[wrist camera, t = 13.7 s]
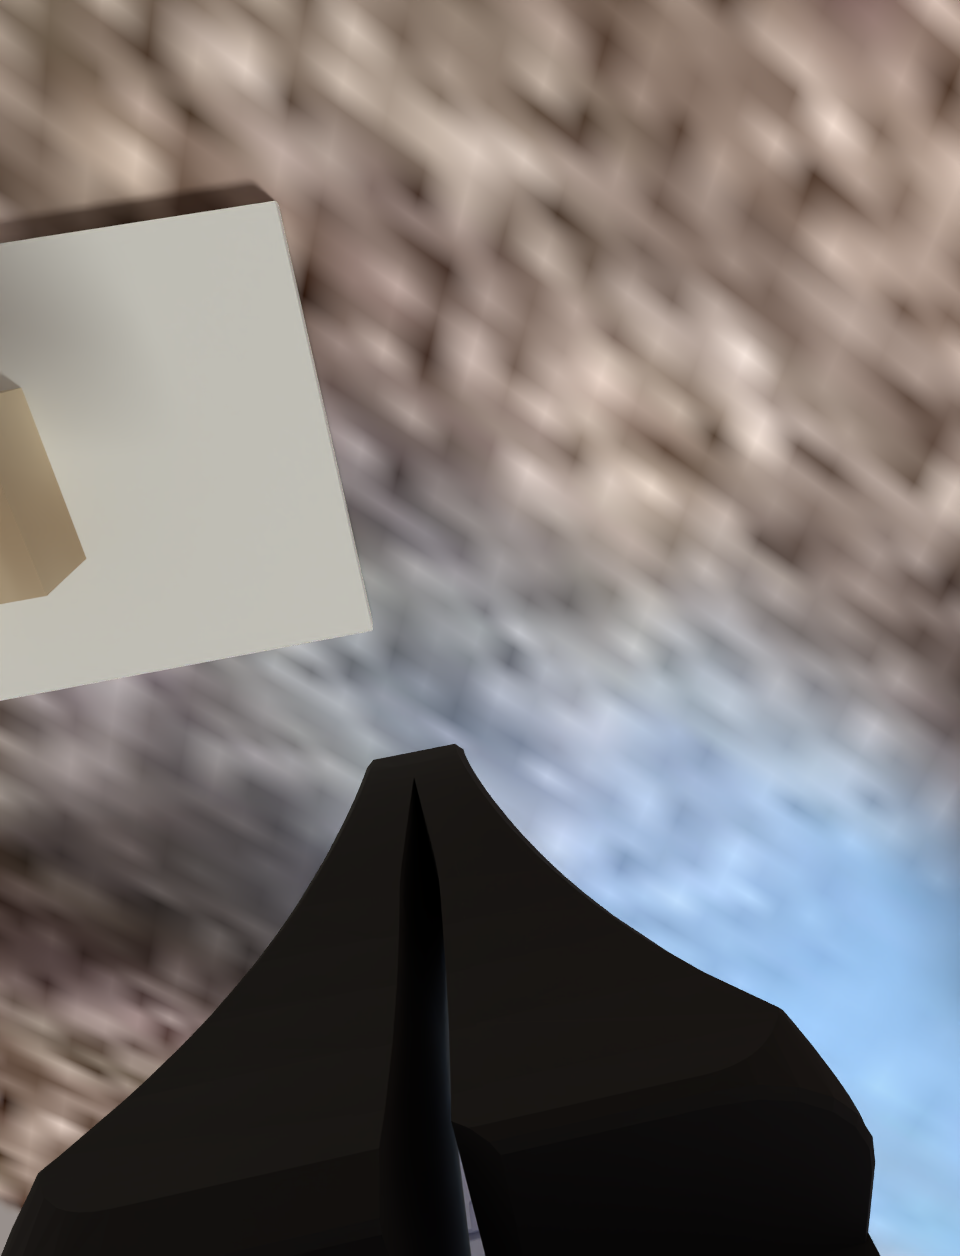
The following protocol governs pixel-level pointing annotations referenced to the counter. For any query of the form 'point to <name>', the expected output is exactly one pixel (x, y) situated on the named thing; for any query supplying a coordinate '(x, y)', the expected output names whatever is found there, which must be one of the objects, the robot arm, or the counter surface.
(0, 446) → the green-faced wooden block
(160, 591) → the mat
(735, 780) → the counter surface
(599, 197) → the counter surface
